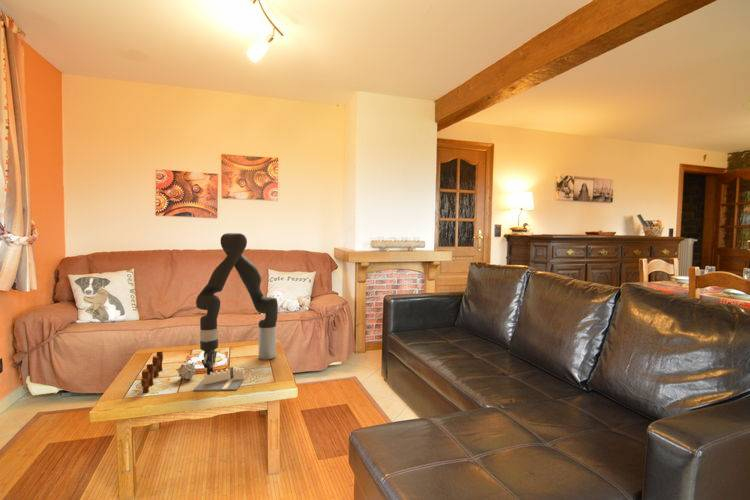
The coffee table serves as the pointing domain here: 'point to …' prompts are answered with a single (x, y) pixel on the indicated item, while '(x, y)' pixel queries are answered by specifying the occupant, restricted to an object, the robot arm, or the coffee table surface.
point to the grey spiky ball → (186, 371)
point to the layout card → (219, 385)
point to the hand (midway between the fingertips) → (210, 375)
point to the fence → (151, 372)
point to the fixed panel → (238, 373)
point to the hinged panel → (218, 376)
